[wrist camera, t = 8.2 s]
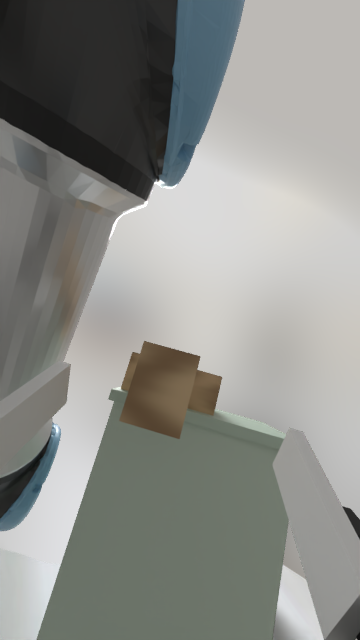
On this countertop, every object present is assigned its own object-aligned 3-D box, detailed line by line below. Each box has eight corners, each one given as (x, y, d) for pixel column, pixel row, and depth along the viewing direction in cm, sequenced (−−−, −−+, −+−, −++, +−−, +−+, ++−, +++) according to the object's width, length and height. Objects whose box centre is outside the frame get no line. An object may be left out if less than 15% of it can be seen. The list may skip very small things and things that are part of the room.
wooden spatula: (51, 400, 11) (81, 323, 12) (136, 386, 33) (145, 358, 34) (253, 461, 11) (268, 375, 12) (204, 405, 32) (211, 377, 33)
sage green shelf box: (-41, 845, 15) (111, 388, 22) (48, 653, 26) (132, 385, 33) (241, 959, 14) (307, 445, 21) (213, 711, 25) (263, 422, 32)
